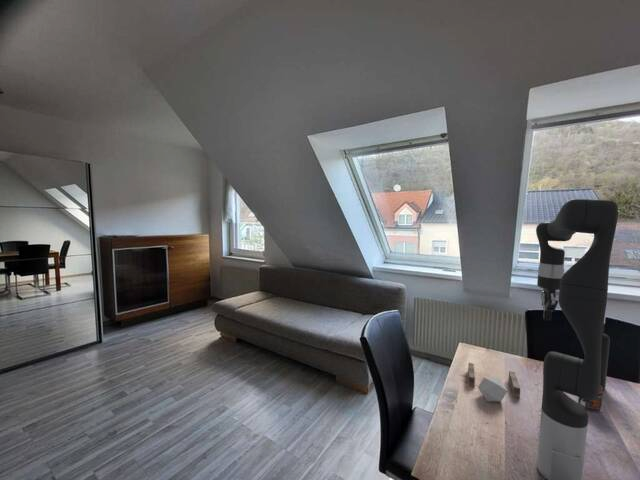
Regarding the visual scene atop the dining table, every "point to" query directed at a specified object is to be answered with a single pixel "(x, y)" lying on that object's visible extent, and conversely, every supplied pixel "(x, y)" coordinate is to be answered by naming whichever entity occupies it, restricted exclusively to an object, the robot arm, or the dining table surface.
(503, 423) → the dining table surface
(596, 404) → the supplement bottle
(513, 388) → the pair of wooden rails
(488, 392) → the die
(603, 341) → the wine bottle
